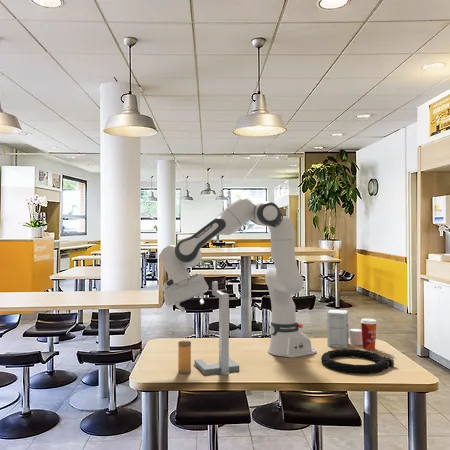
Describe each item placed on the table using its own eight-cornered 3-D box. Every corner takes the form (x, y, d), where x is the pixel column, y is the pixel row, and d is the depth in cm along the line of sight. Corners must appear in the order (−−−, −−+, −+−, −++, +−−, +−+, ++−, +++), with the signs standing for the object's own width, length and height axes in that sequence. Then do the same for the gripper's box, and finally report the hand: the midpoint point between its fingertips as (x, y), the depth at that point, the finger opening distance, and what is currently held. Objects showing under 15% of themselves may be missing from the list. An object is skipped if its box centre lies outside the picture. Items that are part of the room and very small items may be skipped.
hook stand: (217, 365, 193) (217, 281, 193) (228, 374, 180) (228, 285, 180) (210, 365, 192) (210, 281, 192) (221, 375, 179) (221, 285, 179)
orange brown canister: (188, 369, 187) (188, 340, 187) (192, 373, 182) (192, 343, 182) (177, 370, 185) (177, 341, 185) (180, 374, 180) (180, 344, 181)
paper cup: (371, 351, 214) (371, 322, 214) (357, 348, 220) (357, 319, 220) (380, 348, 219) (380, 319, 219) (366, 345, 225) (366, 317, 225)
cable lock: (320, 346, 211) (388, 349, 205) (320, 354, 211) (388, 358, 205) (321, 363, 184) (399, 368, 178) (321, 373, 184) (399, 378, 178)
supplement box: (348, 343, 229) (349, 310, 229) (346, 348, 220) (346, 313, 220) (329, 341, 232) (329, 308, 232) (326, 346, 224) (326, 312, 224)
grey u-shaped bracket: (227, 361, 199) (227, 356, 199) (239, 370, 185) (239, 365, 185) (194, 364, 193) (194, 359, 193) (204, 374, 180) (204, 369, 180)
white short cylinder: (346, 342, 231) (346, 329, 231) (357, 341, 233) (357, 327, 233) (355, 346, 224) (355, 331, 224) (366, 344, 227) (366, 330, 227)
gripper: (199, 274, 210) (212, 301, 205) (158, 289, 201) (171, 318, 197) (202, 269, 204) (215, 296, 200) (160, 285, 196) (173, 314, 191)
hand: (193, 307), depth 198 cm, fingers open, 8 cm apart
